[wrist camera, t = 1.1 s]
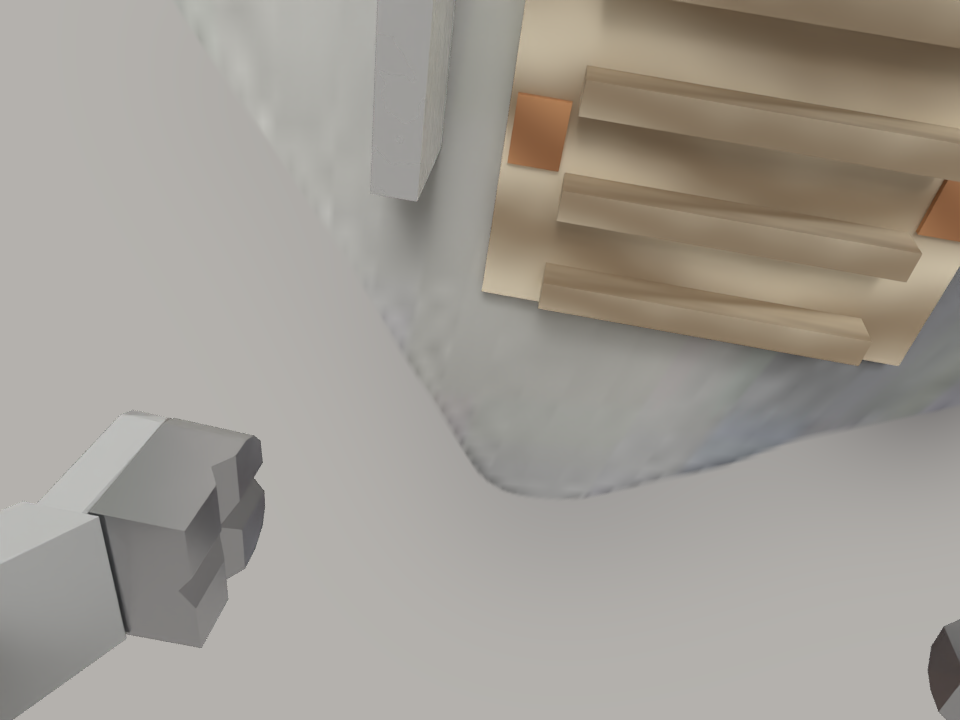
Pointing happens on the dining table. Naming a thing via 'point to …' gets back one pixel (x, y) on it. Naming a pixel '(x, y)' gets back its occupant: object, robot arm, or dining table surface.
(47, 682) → the robot arm
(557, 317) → the dining table surface
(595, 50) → the rack
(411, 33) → the blanking panel
